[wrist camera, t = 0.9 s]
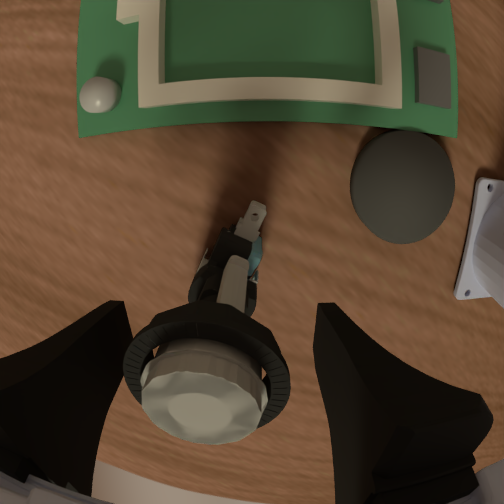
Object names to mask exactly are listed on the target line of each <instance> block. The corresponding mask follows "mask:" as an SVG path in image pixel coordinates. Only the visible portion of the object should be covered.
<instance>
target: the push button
mask: <svg viewBox="0 0 504 504" xmlns="http://www.w3.org/2000/svg"><path fill="white" fill-rule="evenodd" d="M254 213H257V214H258V215H257V216H254V215H253V214H254ZM266 214H267V212H266V205H263V204H261V203H259V202H257V201H255V200H253V201H252V202H251V204H250V206H249V208H248V210H247V212H246V214H245V216H244V218H241V217H240V219H239V221H238V223H237V225H236V226H235V225H233V224H232V225H231V227H230V229H229V230H228V229H226V228H224V227H223V228H222V230H221V233H220V235H219V237H218V239H217V242H216V244H215V246H214V249H213V251H212V254H211V256H210V258H209V260H207V259H205V256H206V253H207V251H208V248H207V249H206V251H205V254H204V256H203V258H202V260H201V263H200V265H199V267H198V270H197V272H196V275H195V277H194V279H193V281H192V284H191V287H190V289H189V293H188V301H189V303H188V304H185V305H182V306H179V307H176V308H173V309H170V310H167V311H164V312H161V313H158V314H157V315H155V317H154V318H153V319H152V321H151V322H150V324H149V325H147V326H146V327H144V328H143V329H142V330H141V331H140V332H138V333H137V334H136V336H135V337H134V338H133V340H132V341H131V343H130V345H129V347H128V349H127V351H126V353H125V356H124V361H123V372H124V377H125V381H126V383H127V386H128V388H129V390H130V391H131V393H132V394H133V396H134V397H135V399H136V400H137V401H138V402H139V403H140V404H141V405H142V408H143V410H144V411H145V412H146V414H147V415H148V416H149V418H150V419H151V421H152V422H153V423H154V424H156V425H157V426H158V427H159V428H161V429H163V430H164V431H166V432H167V433H169V434H171V435H173V436H175V437H178V438H180V439H182V440H187V441H190V442H193V443H203V444H209V445H211V444H217V445H218V444H224V443H229V442H236V441H239V440H241V439H243V438H244V437H246V436H247V435H249V434H250V433H252V432H254V431H255V430H256V429H257V428H259V427H262V426H264V425H265V424H267V423H269V422H270V421H272V420H273V419H274V418H275V417H277V416H278V415H279V414H280V412H281V411H282V410H283V409H284V407H285V406H286V404H287V401H288V399H289V396H290V389H291V386H290V374H289V369H288V366H287V364H286V361H285V359H284V358H283V356H282V354H281V351H280V348H279V346H278V344H277V342H276V340H275V338H274V336H273V334H272V332H271V331H270V330H269V329H268V328H266V327H265V326H263V325H262V324H260V323H258V322H257V321H255V320H254V319H252V318H251V315H252V314H253V312H254V310H255V307H256V299H257V286H256V285H257V283H258V270H257V271H256V272H255V274H254V275H253V277H252V279H251V278H250V277H251V276H252V274H253V272H254V270H255V269H256V268H257V266H258V264H259V262H260V260H261V258H262V254H263V252H262V238H261V237H259V234H260V232H258V230H259V228H260V225H261V223H262V221H263V219H264V217H265V216H266ZM159 345H160V346H159ZM157 346H159V348H158V351H157V353H156V356H155V358H154V355H153V349H154V348H156V347H157ZM262 367H263V369H264V370H265V371H266V373H267V374H266V376H265V377H264V378H263V380H262Z"/></svg>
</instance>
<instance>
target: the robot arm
mask: <svg viewBox="0 0 504 504" xmlns="http://www.w3.org/2000/svg"><path fill="white" fill-rule="evenodd" d="M489 184H490V187H489V189H487V187H488V185H489ZM466 291H467V292H466ZM465 292H466V293H465ZM454 296H455V297H456V298H457V299H458V300H463V299H473V298H483V297H493V298H494V299H495V300H496V301H497V302H498V303H499V304H500V305H501V306H502V307H503V308H504V181H502V180H496V179H490V178H484V177H481V178H479V179H478V180H477V182H476V186H475V194H474V201H473V207H472V213H471V219H470V225H469V230H468V235H467V240H466V245H465V250H464V254H463V259H462V263H461V267H460V271H459V275H458V279H457V282H456V286H455V290H454ZM132 340H133V336H132V332H131V328H130V324H129V321H128V317H127V313H126V308H125V304H124V301H112V300H110V301H108V302H106V303H104V304H102V305H100V306H99V307H97V308H96V309H94V310H92V311H91V312H89V313H88V314H86V315H85V316H83V317H82V318H80V319H79V320H77V321H76V322H74V323H73V324H71V325H69V326H68V327H66V328H64V329H63V330H61V331H59V332H58V333H56V334H54V335H53V336H51V337H49V338H47V339H46V340H44V341H42V342H40V343H38V344H36V345H34V346H32V347H29V348H27V349H25V350H22V351H20V352H17V353H14V354H12V355H9V356H7V357H3V358H0V504H113V503H109V502H106V501H102V500H99V499H96V498H92V497H91V493H92V481H93V473H94V467H95V461H96V455H97V450H98V445H99V441H100V437H101V433H102V429H103V425H104V422H105V418H106V415H107V413H108V410H109V407H110V405H111V403H112V400H113V398H114V396H115V394H116V391H117V389H118V387H119V385H120V382H121V380H122V378H123V376H124V372H123V361H124V356H125V353H126V351H127V349H128V347H129V345H130V343H131V341H132ZM313 353H314V362H315V369H316V374H317V378H318V382H319V386H320V390H321V394H322V398H323V402H324V405H325V409H326V413H327V418H328V423H329V428H330V436H331V445H332V455H333V466H334V481H335V504H504V459H502V460H500V461H498V462H496V463H494V464H492V465H489V466H487V467H485V468H483V469H481V470H480V471H478V472H477V473H476V474H475V473H474V471H473V468H472V466H474V465H475V463H476V460H475V458H474V456H473V452H474V451H475V450H476V448H477V447H478V446H479V445H480V443H481V442H482V441H483V439H484V438H485V437H486V436H487V434H488V432H489V431H490V429H491V427H492V423H493V415H492V413H491V411H490V410H489V408H488V406H487V405H486V403H485V401H484V400H483V398H482V396H481V395H480V394H478V393H474V392H471V391H468V390H464V389H461V388H458V387H455V386H452V385H449V384H447V383H444V382H442V381H440V380H437V379H435V378H433V377H431V376H428V375H426V374H424V373H423V372H421V371H419V370H417V369H415V368H413V367H411V366H410V365H408V364H406V363H405V362H403V361H402V360H400V359H399V358H397V357H396V356H394V355H393V354H391V353H390V352H388V351H387V350H386V349H384V348H383V347H382V346H380V345H379V344H378V343H377V342H376V341H374V340H373V339H372V338H371V337H370V336H368V335H367V334H366V333H365V332H364V331H363V330H362V329H361V328H360V327H359V326H357V325H356V324H355V323H354V322H353V321H352V320H351V319H350V318H349V317H348V316H347V315H346V314H345V313H344V312H343V311H342V310H341V309H340V308H339V307H338V306H337V305H336V304H335V303H318V306H317V315H316V324H315V333H314V342H313Z"/></svg>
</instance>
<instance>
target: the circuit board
mask: <svg viewBox="0 0 504 504" xmlns="http://www.w3.org/2000/svg"><path fill="white" fill-rule="evenodd" d="M77 114H78V132H79V138H82V137H88V136H94V135H100V134H106V133H113V132H119V131H127V130H134V129H143V128H152V127H161V126H172V125H184V124H198V123H215V122H243V121H294V122H322V123H339V124H353V125H365V126H375V127H385V128H393V129H401V130H409V131H416V132H423V133H429V134H436V135H442V136H447V137H453V138H457V127H458V78H457V59H456V46H455V36H454V27H453V19H452V12H451V5H450V0H81V6H80V16H79V29H78V46H77Z"/></svg>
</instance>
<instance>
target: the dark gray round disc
mask: <svg viewBox="0 0 504 504" xmlns="http://www.w3.org/2000/svg"><path fill="white" fill-rule="evenodd" d="M454 191H455V178H454V172H453V168H452V165H451V162H450V160H449V158H448V156H447V154H446V153H445V151H444V150H443V148H442V147H441V146H440V145H439V144H438V143H437V142H436V141H434V140H433V139H432V138H430V137H429V136H427V135H425V134H422V133H420V132H415V131H409V130H392V131H388V132H385V133H382V134H380V135H378V136H377V137H375V138H373V139H372V140H371V141H370V142H368V143H367V145H366V146H365V147H364V148H363V149H362V150H361V152H360V153H359V155H358V157H357V159H356V160H355V163H354V166H353V169H352V173H351V178H350V194H351V199H352V203H353V206H354V209H355V211H356V213H357V215H358V217H359V218H360V219H361V221H362V222H363V223H364V224H365V225H366V226H367V227H368V229H369V230H370V231H371V232H372V233H374V234H375V235H376V236H378V237H379V238H381V239H383V240H385V241H388V242H391V243H396V244H408V243H413V242H417V241H419V240H422V239H424V238H426V237H427V236H429V235H430V234H432V233H433V232H434V231H435V230H436V229H437V228H438V227H439V226H440V225H441V224H442V222H443V221H444V220H445V218H446V216H447V214H448V213H449V210H450V208H451V205H452V202H453V197H454Z"/></svg>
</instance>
